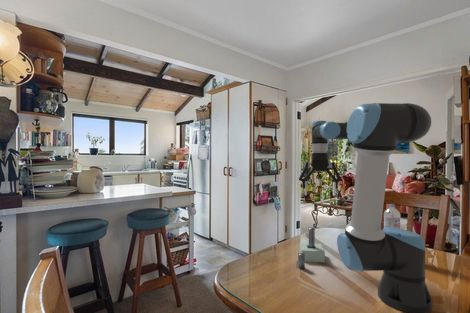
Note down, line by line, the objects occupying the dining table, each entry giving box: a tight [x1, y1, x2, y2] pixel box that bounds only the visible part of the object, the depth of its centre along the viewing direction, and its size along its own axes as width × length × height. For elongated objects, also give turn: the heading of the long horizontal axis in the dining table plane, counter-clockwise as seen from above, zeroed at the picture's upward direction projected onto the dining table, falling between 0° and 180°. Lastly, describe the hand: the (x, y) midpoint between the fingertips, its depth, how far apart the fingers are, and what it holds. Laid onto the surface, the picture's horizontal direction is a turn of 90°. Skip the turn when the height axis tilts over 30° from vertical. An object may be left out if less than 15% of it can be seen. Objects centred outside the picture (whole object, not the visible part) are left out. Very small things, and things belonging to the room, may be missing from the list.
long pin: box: [307, 226, 316, 249], centre depth 119 cm, size 3×3×14 cm
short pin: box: [297, 252, 306, 270], centre depth 108 cm, size 3×3×6 cm
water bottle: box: [383, 203, 402, 229], centre depth 120 cm, size 7×7×25 cm
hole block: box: [299, 242, 326, 263], centre depth 119 cm, size 10×10×5 cm
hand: (319, 195), depth 124 cm, fingers open, 13 cm apart
